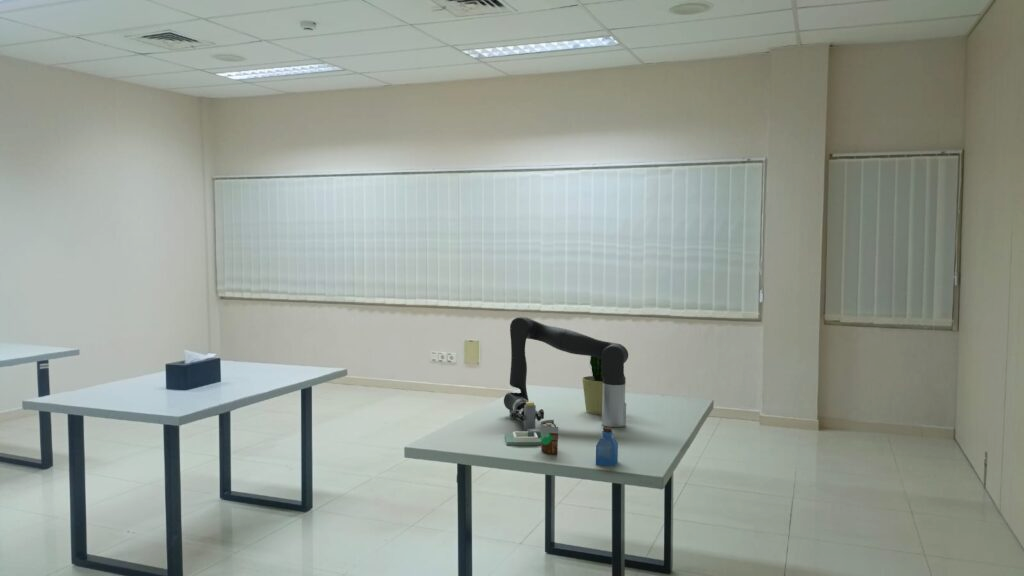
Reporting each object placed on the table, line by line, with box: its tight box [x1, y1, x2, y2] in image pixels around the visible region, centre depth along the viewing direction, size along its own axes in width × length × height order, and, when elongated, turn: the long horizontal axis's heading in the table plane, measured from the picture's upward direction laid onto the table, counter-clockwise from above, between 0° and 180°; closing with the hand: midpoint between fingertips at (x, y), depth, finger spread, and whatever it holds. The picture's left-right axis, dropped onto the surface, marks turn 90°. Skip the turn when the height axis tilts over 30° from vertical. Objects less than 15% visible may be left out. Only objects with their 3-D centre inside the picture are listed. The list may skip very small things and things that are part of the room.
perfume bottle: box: [595, 426, 619, 467], centre depth 247 cm, size 6×6×12 cm
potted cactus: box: [581, 356, 603, 415], centre depth 326 cm, size 15×15×30 cm
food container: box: [538, 419, 559, 456], centre depth 261 cm, size 12×6×10 cm, turn 5°
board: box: [504, 428, 541, 446], centre depth 274 cm, size 14×12×3 cm
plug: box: [523, 401, 537, 432], centre depth 285 cm, size 4×4×12 cm
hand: (530, 418), depth 283 cm, fingers open, 6 cm apart
